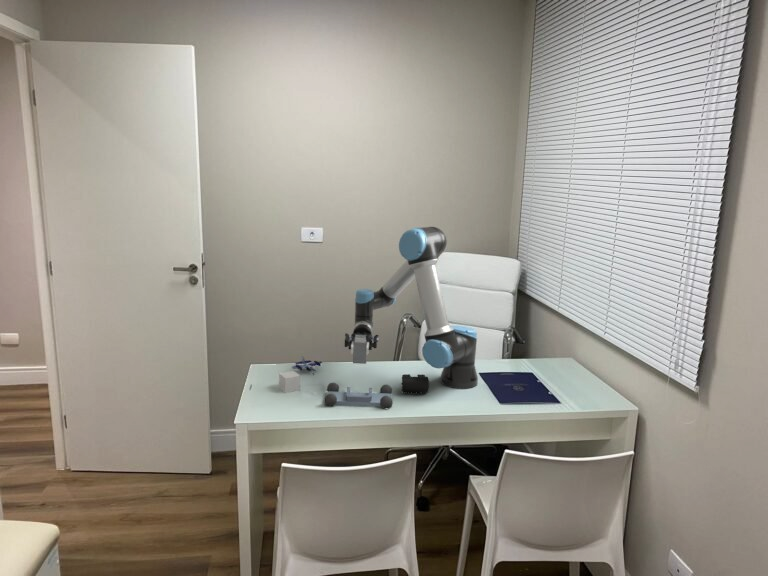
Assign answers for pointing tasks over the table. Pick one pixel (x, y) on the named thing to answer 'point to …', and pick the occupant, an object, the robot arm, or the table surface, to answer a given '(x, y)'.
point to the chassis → (358, 397)
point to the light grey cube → (289, 381)
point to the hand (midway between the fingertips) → (359, 350)
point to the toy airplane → (307, 365)
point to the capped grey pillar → (359, 349)
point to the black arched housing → (415, 384)
